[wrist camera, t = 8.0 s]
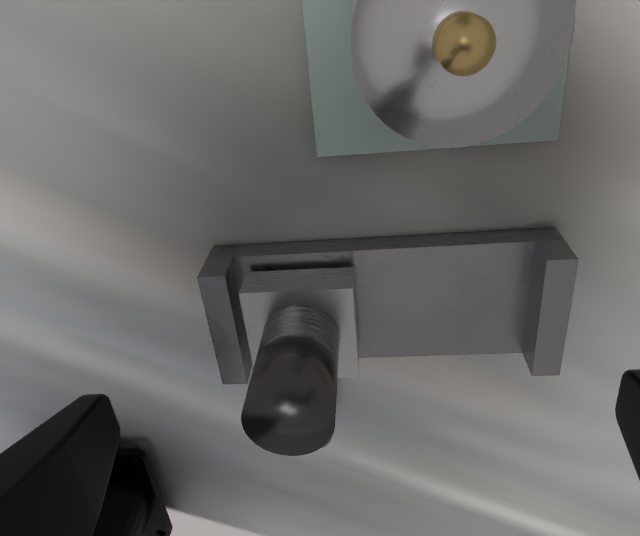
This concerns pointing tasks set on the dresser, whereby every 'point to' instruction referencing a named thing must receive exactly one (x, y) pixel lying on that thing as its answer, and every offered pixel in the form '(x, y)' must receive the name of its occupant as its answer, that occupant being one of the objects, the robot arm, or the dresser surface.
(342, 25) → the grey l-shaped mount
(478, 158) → the dresser surface
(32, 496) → the robot arm
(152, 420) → the dresser surface
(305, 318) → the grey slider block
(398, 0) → the silver bell
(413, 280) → the rail
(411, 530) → the dresser surface
